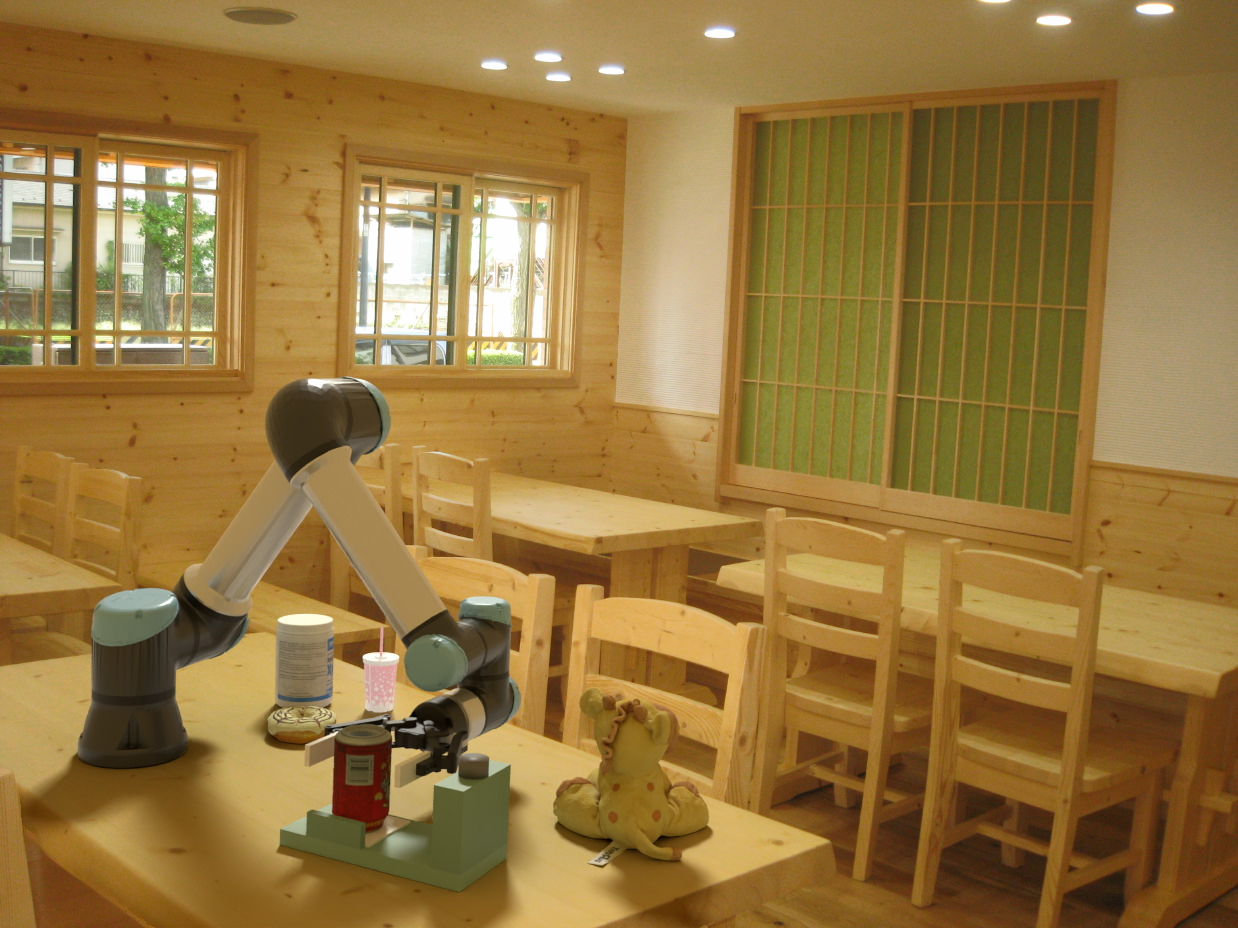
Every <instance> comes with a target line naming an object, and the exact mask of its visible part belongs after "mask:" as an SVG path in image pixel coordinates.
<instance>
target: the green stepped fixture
mask: <svg viewBox="0 0 1238 928" xmlns="http://www.w3.org/2000/svg"><path fill="white" fill-rule="evenodd" d="M511 765H512V764H511V763H507V762H501V761H498V760H497V761H496V760H493V759H492V760H491V759H490V756H488V755H487V754H483V753H479V752H469V753H463V754H462V755H461V756H459V765H458V768H457V772H456V773H454V774H450V775H449V776H448V777H446V778H443V779H442V780H440V781H438V782H436V783H434V784H433V794H432V795H433V796H432V797H433V799H432V800H433V803H432V824H429V823H427V822H423V821H422V822H421V821H418V820H415V819H414V820H413V819H410V818H406V817H401V816H397V815H392V814H390V813H388V816H387V817H386V819H385V820H384V822H383V827H382V828H381V829H379V830H377V831H375V832H372V833H367V834H365V831H366V823H365V822H361V821H357V820H353V819H349V818H344V817H340V816H336V815H333V814H332V802H331V803H329V804H327V805H325V806H322V807H321V808H319V809H318V810H316V809H310V810H309V811H306V816H302V817H301V818H299V819H297V820H296V821H293V822H291V823H289V824H287V825H285V826H284V827H281V828H280V829H279V845H281V846H282V847H283V846H284V847H288V848H292V849H294V850H299V851H303V852H306V853H309V854H310V853H311V854H314V855H318V856H321V857H325V858H329V859H334V860H337V861H340V862H344V863H346V864H347V863H348V864H352V865H355V866H360V867H363V868H367V869H371V870H375V871H376V872H377V871H378V872H382V873H386V874H389V875H393V876H396V877H397V876H398V877H401V878H405V879H408V880H412V881H416V882H419V883H424V884H427V885H430V886H435V887H438V888H442V889H445V890H450V891H454V892H457V893H460V892H462V891H463V890H464V889H466V888H467V887H469V886H470V885H472V884H473V883H474V882H476V881H478V880H479V879H480V878H481V877H483V876H485V874H487V873H488V872H490V871H491V870H493V869H494V868H496V867H497V866H498V865H500V864H501V863H503V862H504V861H505V860H507V858H508V857H507V855H508V854H507V853H508V834H509V833H508V831H509V817H510V816H509V813H510V812H509V810H510V792H511V791H510V788H511V771H512V770H511V769H512V768H511V767H512V766H511Z"/></svg>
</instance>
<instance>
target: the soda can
mask: <svg viewBox="0 0 1238 928" xmlns="http://www.w3.org/2000/svg"><path fill="white" fill-rule="evenodd" d="M392 742H393V736H392V733H391V734H390V732H389V731H387V730H386V729H384V727H381V726H377V725H373V724H361V725H351V726H348V727H345V728H343V729H342V730H340V731H339V732H337V734H336V735H335V738H334V756H333V768H332V769H333V770H332V772H333V773H332V795H331V796H332V798H331V799H332V800H331V803H332V814H333V815H336V816H340V817H344V818H349V819H353V820H357V821H361V822H365V823H366V831H365V834H367V833H372V832H375V831H377V830H379V829H381V828H382V827H383V822H384V820H385V819H386V817H387V816H388V814H390V805H391V804H390V801H391V800H390V798H391V797H390V795H391V781H392V780H391V775H392V754H393V753H392V750H393V748H392Z"/></svg>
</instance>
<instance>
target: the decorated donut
mask: <svg viewBox="0 0 1238 928" xmlns="http://www.w3.org/2000/svg"><path fill="white" fill-rule="evenodd" d="M266 722H267V729H268V732H269V734H271V735H272V736H273V737H275V738H276V739H277V740H278V741H279V742H283V743H288V744H298V745H304V744H308V743H311V742H313V741H316V740H318V739H320V738H323V737H324V731H325V726H327V725H332V724H337V714H336V713H335V712H334V711H332V710H330V709H328V708H326V707H323V708H322V707H318V706H289V707H285V708H282V707H281V708H279V709H277V710H274V711H273V712H271V713H270V715H269V716H268V718H267V719H266Z"/></svg>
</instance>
